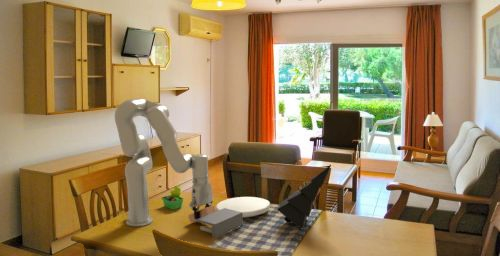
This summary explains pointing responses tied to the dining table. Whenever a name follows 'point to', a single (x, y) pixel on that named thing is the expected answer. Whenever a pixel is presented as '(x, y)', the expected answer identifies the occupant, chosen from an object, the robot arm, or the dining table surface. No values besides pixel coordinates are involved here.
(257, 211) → the plate
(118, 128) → the robot arm
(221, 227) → the grey block with tab
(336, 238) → the dining table surface
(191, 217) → the slab
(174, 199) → the fruit basket
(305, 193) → the decorative tree
